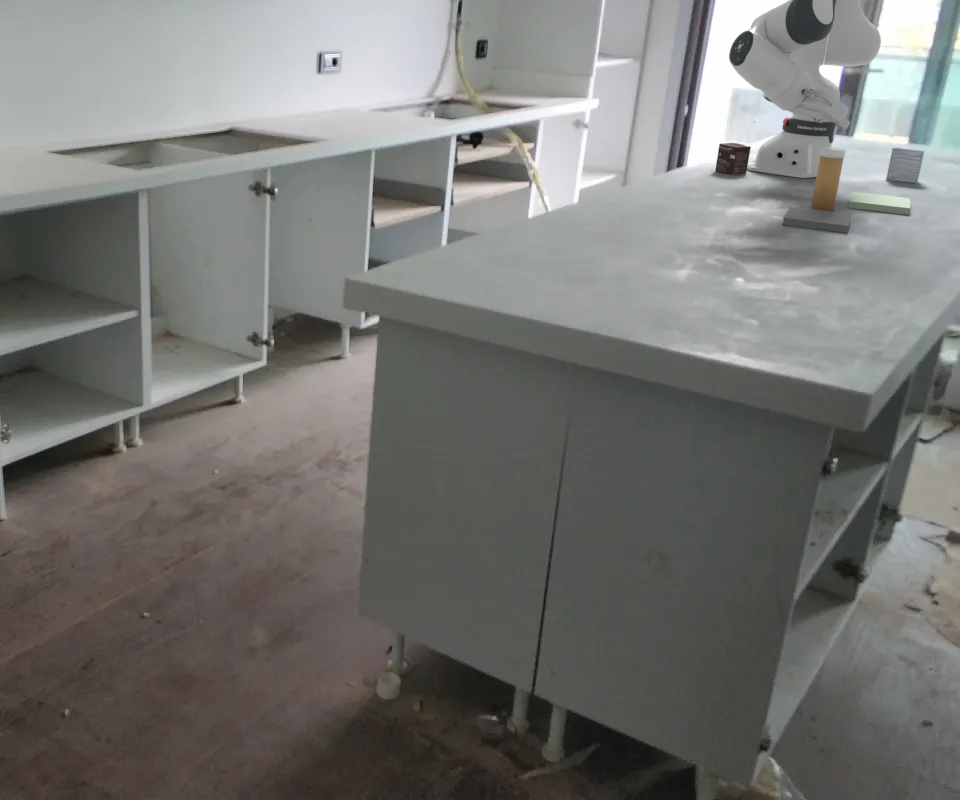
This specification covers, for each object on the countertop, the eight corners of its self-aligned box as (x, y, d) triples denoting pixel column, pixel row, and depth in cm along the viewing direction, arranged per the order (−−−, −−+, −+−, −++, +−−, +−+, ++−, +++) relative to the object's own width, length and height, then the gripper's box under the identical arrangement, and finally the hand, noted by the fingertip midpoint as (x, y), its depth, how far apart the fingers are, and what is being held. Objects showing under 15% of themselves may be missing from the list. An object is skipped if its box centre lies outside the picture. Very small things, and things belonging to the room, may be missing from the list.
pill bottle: (809, 209, 220) (820, 149, 214) (811, 205, 224) (821, 146, 219) (833, 212, 218) (844, 152, 213) (834, 208, 222) (846, 148, 217)
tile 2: (848, 207, 224) (849, 201, 223) (851, 197, 235) (852, 191, 234) (908, 214, 220) (910, 208, 219) (908, 204, 231) (909, 198, 230)
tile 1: (782, 224, 204) (783, 217, 203) (788, 213, 215) (789, 206, 214) (847, 233, 200) (848, 225, 199) (850, 220, 211) (851, 214, 210)
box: (714, 171, 261) (718, 143, 258) (729, 169, 264) (733, 142, 261) (732, 175, 256) (736, 147, 254) (747, 173, 260) (751, 146, 257)
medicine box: (917, 181, 261) (925, 148, 258) (917, 184, 258) (924, 151, 254) (886, 178, 264) (893, 145, 261) (885, 180, 261) (892, 147, 257)
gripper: (828, 80, 197) (871, 116, 203) (775, 70, 215) (816, 104, 221) (809, 107, 199) (853, 142, 204) (758, 96, 217) (800, 128, 222)
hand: (833, 122), depth 213 cm, fingers open, 8 cm apart
